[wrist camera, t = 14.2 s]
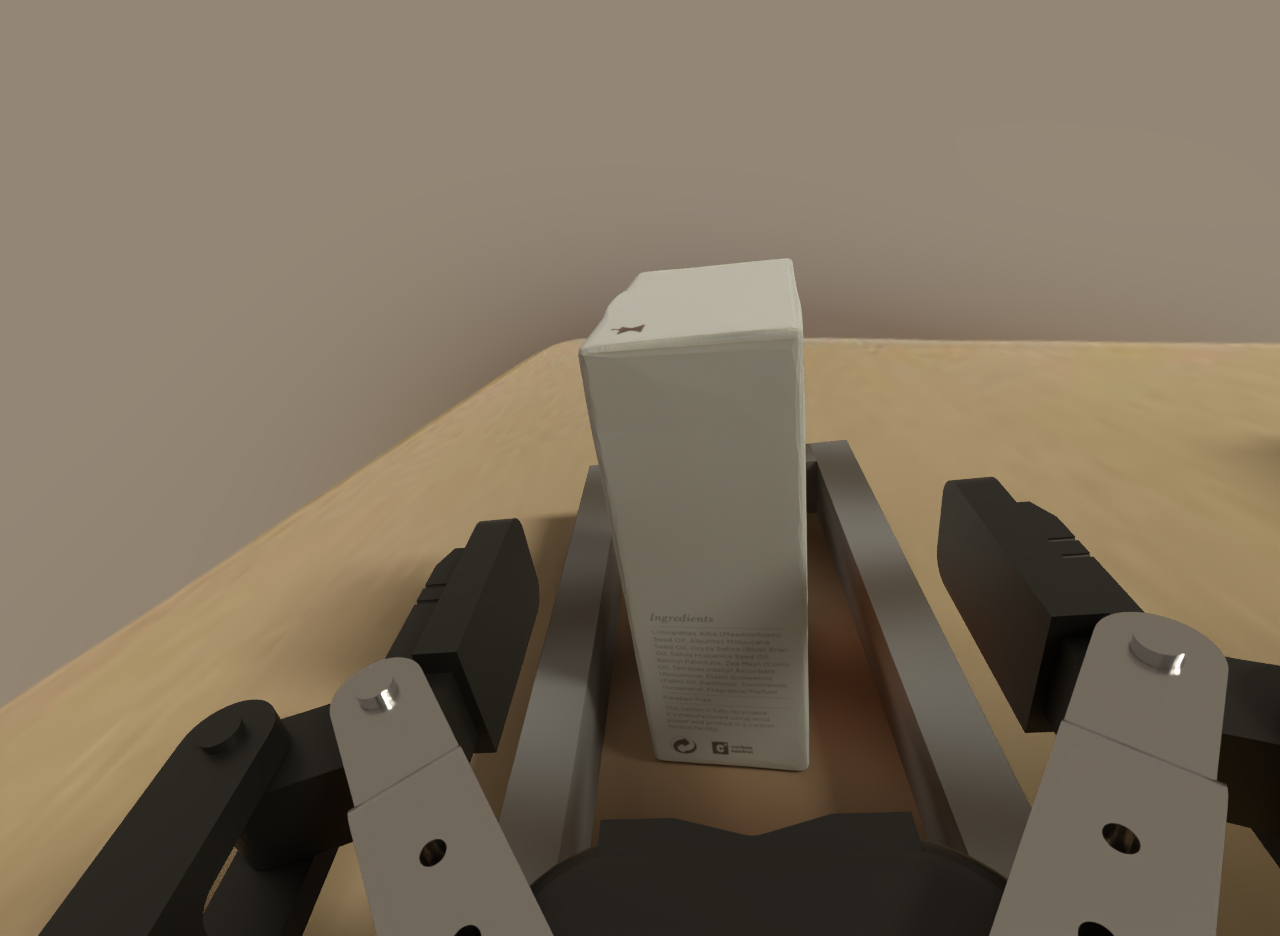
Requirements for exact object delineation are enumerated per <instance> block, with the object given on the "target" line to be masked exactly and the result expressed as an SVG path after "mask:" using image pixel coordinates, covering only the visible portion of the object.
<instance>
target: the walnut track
mask: <svg viewBox="0 0 1280 936" xmlns="http://www.w3.org/2000/svg"><path fill="white" fill-rule="evenodd" d="M805 452H806V520H807V589H808V698H809V766H808V768H807V769H806V770H803V771H795V770H782V769H771V768H760V767H749V766H732V765H720V764H702V763H689V762H676V761H666V760H660V759H658V758H656V757H655V754H654V749H653V743H652V738H651V733H650V728H649V722H648V718H647V712H646V707H645V702H644V697H643V693H642V687H641V681H640V676H639V671H638V666H637V661H636V656H635V650H634V645H633V639H632V633H631V628H630V623H629V618H628V612H627V607H626V602H625V597H624V592H623V587H622V582H621V576H620V571H619V566H618V560H617V555H616V551H615V547H614V542H613V536H612V531H611V526H610V521H609V515H608V510H607V504H606V499H605V494H604V489H603V484H602V478H601V473H600V468H599V465H594V466H590V467H589V471H588V475H587V479H586V482H585V486H584V490H583V494H582V498H581V502H580V506H579V510H578V514H577V517H576V521H575V525H574V529H573V533H572V537H571V541H570V545H569V549H568V553H567V556H566V560H565V564H564V568H563V572H562V576H561V580H560V584H559V588H558V591H557V595H556V599H555V603H554V607H553V611H552V615H551V619H550V623H549V627H548V630H547V634H546V638H545V642H544V646H543V650H542V654H541V658H540V662H539V665H538V669H537V673H536V677H535V681H534V685H533V689H532V693H531V697H530V701H529V704H528V708H527V712H526V716H525V720H524V724H523V728H522V732H521V736H520V739H519V743H518V747H517V751H516V755H515V759H514V763H513V767H512V771H511V775H510V778H509V782H508V786H507V790H506V794H505V798H504V802H503V806H502V810H501V813H500V817H499V821H498V823H499V825H500V827H501V829H502V831H503V833H504V836H505V838H506V840H507V842H508V844H509V846H510V848H511V850H512V852H513V854H514V856H515V858H516V860H517V862H518V864H519V866H520V868H521V870H522V872H523V874H524V876H525V878H526V880H527V882H528V885H529V886H530V885H531V884H532V883H533V882H534V881H535V880H537V879H538V878H539V877H540V876H541V875H543V874H544V873H545V872H547V871H548V870H549V869H551V868H552V867H553V866H555V865H556V864H558V863H560V862H561V861H563V860H565V859H566V858H568V857H570V856H572V855H574V854H576V853H579V852H581V851H583V850H585V849H588V848H591V847H594V846H597V845H598V839H599V831H600V822H601V820H612V819H650V818H676V819H680V820H685V821H689V822H693V823H697V824H702V825H706V826H710V827H714V828H718V829H723V830H727V831H731V832H735V833H739V834H744V835H750V836H754V835H761V834H764V833H768V832H771V831H775V830H778V829H781V828H785V827H788V826H791V825H795V824H798V823H802V822H805V821H808V820H812V819H815V818H818V817H822V816H825V815H829V814H837V813H875V812H912V815H913V818H914V821H915V825H916V828H917V831H918V834H919V837H920V838H921V839H925V840H929V841H933V842H936V843H939V844H942V845H944V846H947V847H950V848H953V849H955V850H958V851H960V852H962V853H964V854H966V855H968V856H971V857H973V858H975V859H977V860H978V861H980V862H982V863H983V864H985V865H987V866H989V867H990V868H992V869H994V870H995V871H997V872H998V873H1000V874H1001V875H1003V876H1004V877H1005V878H1007V879H1008V878H1009V875H1010V872H1011V869H1012V866H1013V863H1014V860H1015V857H1016V854H1017V851H1018V848H1019V845H1020V842H1021V839H1022V836H1023V833H1024V830H1025V827H1026V824H1027V821H1028V818H1029V815H1030V812H1031V810H1032V809H1031V807H1030V805H1029V803H1028V801H1027V799H1026V797H1025V795H1024V793H1023V791H1022V789H1021V787H1020V785H1019V783H1018V781H1017V779H1016V777H1015V775H1014V773H1013V771H1012V769H1011V767H1010V765H1009V763H1008V761H1007V759H1006V757H1005V755H1004V753H1003V751H1002V749H1001V747H1000V745H999V743H998V741H997V739H996V737H995V735H994V733H993V731H992V729H991V727H990V725H989V723H988V721H987V719H986V717H985V715H984V713H983V711H982V709H981V707H980V705H979V703H978V701H977V699H976V697H975V695H974V693H973V691H972V689H971V687H970V685H969V683H968V681H967V679H966V677H965V675H964V673H963V671H962V669H961V667H960V665H959V663H958V661H957V659H956V657H955V655H954V653H953V651H952V649H951V647H950V645H949V643H948V641H947V639H946V637H945V635H944V633H943V631H942V629H941V627H940V625H939V623H938V621H937V619H936V617H935V615H934V613H933V611H932V609H931V607H930V605H929V603H928V602H927V600H926V598H925V596H924V594H923V592H922V590H921V588H920V586H919V584H918V582H917V580H916V578H915V576H914V574H913V572H912V570H911V568H910V566H909V564H908V562H907V560H906V558H905V556H904V554H903V552H902V550H901V548H900V546H899V544H898V542H897V540H896V538H895V536H894V534H893V532H892V530H891V528H890V526H889V524H888V522H887V520H886V518H885V516H884V514H883V512H882V510H881V508H880V506H879V504H878V502H877V500H876V498H875V496H874V494H873V492H872V490H871V488H870V486H869V484H868V482H867V480H866V478H865V476H864V474H863V472H862V470H861V468H860V466H859V464H858V462H857V460H856V458H855V456H854V454H853V452H852V450H851V448H850V446H849V444H848V442H847V440H840V441H831V442H821V443H811V444H805Z"/></svg>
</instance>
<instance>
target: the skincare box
mask: <svg viewBox="0 0 1280 936" xmlns="http://www.w3.org/2000/svg"><path fill="white" fill-rule="evenodd" d="M578 357H579V362H580V368H581V374H582V379H583V385H584V392H585V398H586V403H587V409H588V414H589V419H590V425H591V430H592V435H593V440H594V445H595V449H596V454H597V459H598V463H599V468H600V473H601V478H602V484H603V489H604V494H605V499H606V504H607V510H608V515H609V521H610V526H611V531H612V536H613V542H614V547H615V551H616V555H617V560H618V566H619V571H620V576H621V582H622V587H623V592H624V597H625V602H626V607H627V612H628V618H629V623H630V628H631V633H632V639H633V645H634V650H635V656H636V661H637V666H638V671H639V676H640V681H641V687H642V693H643V697H644V702H645V707H646V712H647V718H648V722H649V728H650V733H651V738H652V743H653V749H654V754H655V757H656V758H658V759H660V760H666V761H676V762H689V763H702V764H720V765H732V766H749V767H760V768H771V769H782V770H795V771H803V770H806V769H807V768H808V766H809V698H808V589H807V520H806V452H805V396H804V353H803V325H802V311H801V304H800V300H799V296H798V292H797V288H796V282H795V276H794V270H793V263H792V260H791V259H789V258H786V259H775V260H764V261H754V262H744V263H734V264H725V265H717V266H716V265H715V266H706V267H698V268H697V267H696V268H686V269H674V270H662V271H650V272H643V273H640V274H638V275H637V277H636V278H635V279H634V281H633V282H632V283H631V284H630V285H629V287H628V288H627V289H626V290H625V292H623V293H621V294H619V295H618V296H616V297H615V298H614V300H613V301H612V302H611V303H610V305H609V306H608V307H607V309H606V312H605V315H604V317H603V319H602V320H601V321H600V323H599V324H598V325H597V327H596V328H595V330H594V331H593V332H592V334H591V335H590V336H589V337H588V338H587V340H586V341H585V342H584V344H583V345H582V346H581V347H580V348H579V354H578Z"/></svg>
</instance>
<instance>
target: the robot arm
mask: <svg viewBox="0 0 1280 936" xmlns="http://www.w3.org/2000/svg"><path fill="white" fill-rule="evenodd" d="M1089 553H1090V552H1089V551H1088V550H1087V549H1086V548H1085V547H1084V546H1083V545H1082V544H1081V543H1080V542H1079V540H1075V536H1074V535H1073V534H1072V533H1071V532H1070V531H1069V530H1068V528H1067V527H1066V526H1065V525H1064V524H1063V523H1062V522H1061V521H1060V520H1059V519H1058V517H1056V516H1054V515H1053V514H1051V513H1049V512H1047V511H1045V510H1044V509H1042V508H1040V507H1038V506H1036V505H1035V504H1033V503H1031V502H1016V501H1015V500H1014V499H1013V498H1012V496H1011V495H1010V494H1009V493H1008V492H1007V491H1006V489H1005V488H1004V487H1003V486H1002V485H1001V483H1000V482H999V481H998V480H997V479H996V478H994V477H984V478H973V479H962V480H951V481H948V482H946V484H945V486H944V490H943V497H942V507H941V516H940V526H939V536H938V545H937V561H938V567H939V572H940V576H941V579H942V581H943V583H944V585H945V587H946V589H947V591H948V593H949V595H950V596H951V598H952V600H953V602H954V604H955V606H956V607H957V609H958V611H959V613H960V615H961V617H962V618H963V620H964V622H965V624H966V626H967V627H968V629H969V631H970V633H971V635H972V637H973V638H974V640H975V642H976V644H977V646H978V648H979V649H980V651H981V653H982V655H983V657H984V659H985V660H986V662H987V664H988V666H989V668H990V670H991V671H992V673H993V675H994V677H995V679H996V681H997V682H998V684H999V686H1000V688H1001V690H1002V691H1003V693H1004V695H1005V697H1006V699H1007V701H1008V702H1009V704H1010V706H1011V708H1012V710H1013V712H1014V713H1015V715H1016V717H1017V719H1018V721H1019V723H1020V724H1021V726H1022V728H1023V730H1024V732H1025V733H1033V732H1055V734H1056V738H1055V741H1054V744H1053V747H1052V750H1051V753H1050V756H1049V759H1048V762H1047V765H1046V768H1045V771H1044V774H1043V777H1042V780H1041V783H1040V786H1039V789H1038V792H1037V795H1036V798H1035V801H1034V804H1033V807H1032V810H1031V812H1030V815H1029V818H1028V821H1027V824H1026V827H1025V830H1024V833H1023V836H1022V839H1021V842H1020V845H1019V848H1018V851H1017V854H1016V857H1015V860H1014V863H1013V866H1012V869H1011V872H1010V875H1009V878H1008V879H1007V878H1005V877H1004V876H1003V875H1001V874H1000V873H998V872H997V871H995V870H994V869H992V868H990V867H989V866H987V865H985V864H983V863H982V862H980V861H978V860H977V859H975V858H973V857H971V856H968V855H966V854H964V853H962V852H960V851H958V850H955V849H953V848H950V847H947V846H944V845H942V844H939V843H936V842H933V841H929V840H925V839H921V838H920V837H919V834H918V831H917V828H916V825H915V821H914V818H913V815H912V812H875V813H837V814H829V815H825V816H822V817H818V818H815V819H812V820H808V821H805V822H802V823H798V824H795V825H791V826H788V827H785V828H781V829H778V830H775V831H771V832H768V833H764V834H761V835H754V836H750V835H744V834H739V833H735V832H731V831H727V830H723V829H718V828H714V827H710V826H706V825H702V824H697V823H693V822H689V821H685V820H680V819H676V818H650V819H612V820H601V822H600V831H599V839H598V845H597V846H594V847H591V848H588V849H585V850H583V851H581V852H579V853H576V854H574V855H572V856H570V857H568V858H566V859H565V860H563V861H561V862H560V863H558V864H556V865H555V866H553V867H552V868H551V869H549V870H548V871H547V872H545V873H544V874H543V875H541V876H540V877H539V878H538V879H537V880H535V881H534V882H533V883H532V884H531V885H530V886H529V885H528V882H527V880H526V878H525V876H524V874H523V872H522V870H521V868H520V866H519V864H518V862H517V860H516V858H515V856H514V854H513V852H512V850H511V848H510V846H509V844H508V842H507V840H506V838H505V836H504V833H503V831H502V829H501V827H500V825H499V823H498V821H497V819H496V817H495V815H494V813H493V811H492V809H491V807H490V805H489V803H488V801H487V799H486V797H485V795H484V793H483V791H482V789H481V787H480V784H479V782H478V780H477V778H476V776H475V774H474V772H473V770H472V768H471V766H470V761H471V758H472V755H473V753H494V752H497V748H498V745H499V741H500V738H501V735H502V731H503V728H504V724H505V721H506V717H507V714H508V711H509V707H510V704H511V700H512V697H513V694H514V690H515V687H516V683H517V680H518V677H519V673H520V670H521V666H522V663H523V660H524V656H525V653H526V649H527V646H528V643H529V639H530V636H531V632H532V629H533V625H534V622H535V619H536V615H537V612H538V607H539V585H538V580H537V576H536V572H535V569H534V565H533V562H532V558H531V555H530V551H529V548H528V544H527V541H526V537H525V534H524V530H523V527H522V525H521V523H520V521H519V520H518V519H517V518H513V519H502V520H491V521H480V522H479V523H478V524H477V525H476V527H475V529H474V531H473V533H472V535H471V537H470V539H469V541H468V543H467V545H466V547H465V548H456V549H454V550H453V551H452V552H451V553H449V554H448V555H447V556H446V557H445V558H444V559H443V560H442V561H441V562H440V563H439V564H437V565H436V567H435V568H434V570H433V572H432V574H431V576H430V578H429V579H428V581H427V583H426V589H423V590H422V592H421V594H420V596H419V598H418V600H417V605H414V607H413V609H412V610H411V612H410V614H409V616H408V618H407V620H406V621H405V623H404V625H403V627H402V629H401V631H400V632H399V634H398V636H397V638H396V640H395V642H394V643H393V645H392V647H391V649H390V651H389V653H388V654H387V656H386V658H385V659H383V660H380V661H377V662H374V663H372V664H370V665H368V666H366V667H364V668H362V669H360V670H359V671H357V672H356V673H355V674H353V675H352V676H351V677H350V678H348V679H347V680H346V681H345V682H344V683H343V684H342V685H341V687H340V688H339V689H338V691H337V692H336V694H335V695H334V697H333V699H332V702H331V704H328V705H325V706H322V707H319V708H315V709H312V710H309V711H306V712H303V713H299V714H296V715H293V716H290V717H287V718H284V719H280V717H279V716H278V714H277V713H276V711H275V709H274V708H273V706H272V705H271V704H270V703H268V702H266V701H263V700H246V701H241V702H238V703H235V704H232V705H230V706H227V707H225V708H223V709H221V710H219V711H217V712H215V713H214V714H212V715H210V716H209V717H207V718H206V719H204V720H203V721H202V722H200V723H199V724H198V725H197V726H196V727H194V728H193V729H192V730H191V731H190V732H189V733H188V734H187V735H186V736H185V738H184V739H183V740H182V741H181V743H180V744H179V745H178V747H177V748H176V749H175V751H174V752H173V753H172V755H171V756H170V757H169V759H168V760H167V762H166V763H165V764H164V766H163V767H162V768H161V770H160V771H159V772H158V774H157V775H156V776H155V778H154V779H153V781H152V782H151V783H150V785H149V786H148V787H147V789H146V790H145V791H144V793H143V794H142V795H141V797H140V798H139V800H138V801H137V802H136V804H135V805H134V806H133V808H132V809H131V810H130V812H129V813H128V814H127V816H126V817H125V819H124V820H123V821H122V823H121V824H120V825H119V827H118V828H117V829H116V831H115V832H114V833H113V835H112V836H111V838H110V839H109V840H108V842H107V843H106V844H105V846H104V847H103V848H102V850H101V851H100V852H99V854H98V855H97V857H96V858H95V859H94V861H93V862H92V863H91V865H90V866H89V867H88V869H87V870H86V871H85V873H84V874H83V876H82V877H81V878H80V880H79V881H78V882H77V884H76V885H75V886H74V888H73V889H72V890H71V892H70V893H69V895H68V896H67V897H66V899H65V900H64V901H63V903H62V904H61V905H60V907H59V908H58V909H57V911H56V912H55V914H54V915H53V916H52V918H51V919H50V920H49V922H48V923H47V924H46V926H45V927H44V928H43V930H42V931H41V932H40V934H39V935H38V936H302V935H303V932H304V930H305V928H306V925H307V923H308V920H309V918H310V915H311V913H312V911H313V908H314V906H315V903H316V901H317V899H318V896H319V894H320V891H321V889H322V887H323V884H324V882H325V879H326V877H327V874H328V872H329V870H330V867H331V865H332V862H333V860H334V858H335V855H336V853H337V850H338V848H339V847H340V846H343V845H345V844H348V843H351V842H354V846H355V850H356V854H357V858H358V862H359V866H360V870H361V874H362V878H363V882H364V886H365V890H366V894H367V898H368V902H369V906H370V910H371V914H372V918H373V922H374V926H375V930H376V934H377V936H1216V928H1217V917H1218V906H1219V895H1220V884H1221V873H1222V863H1223V852H1224V841H1225V830H1226V822H1228V823H1232V824H1236V825H1240V826H1245V827H1249V828H1251V829H1252V830H1253V832H1254V833H1255V834H1256V836H1257V837H1258V839H1259V840H1260V841H1261V843H1262V844H1263V845H1264V847H1265V848H1266V850H1267V851H1268V852H1269V854H1270V855H1271V857H1272V858H1273V859H1274V861H1275V862H1276V864H1277V865H1278V866H1279V868H1280V666H1278V665H1272V664H1265V663H1259V662H1253V661H1246V660H1240V659H1235V658H1230V657H1225V656H1224V655H1223V653H1222V652H1221V650H1220V649H1219V648H1218V647H1217V646H1216V645H1215V644H1214V643H1213V642H1212V641H1211V640H1209V639H1208V638H1207V637H1206V636H1204V635H1203V634H1201V633H1200V632H1198V631H1196V630H1194V629H1193V628H1191V627H1189V626H1187V625H1185V624H1182V623H1180V622H1178V621H1175V620H1172V619H1169V618H1166V617H1163V616H1159V615H1155V614H1149V613H1144V611H1143V610H1142V609H1141V608H1140V607H1139V606H1138V605H1137V604H1136V603H1135V602H1134V600H1133V599H1132V598H1131V597H1130V596H1129V595H1128V594H1127V593H1126V592H1125V591H1124V590H1123V588H1122V587H1121V586H1120V585H1119V584H1118V583H1117V582H1116V581H1115V580H1114V579H1113V578H1112V576H1111V575H1110V574H1109V573H1108V572H1107V571H1106V570H1105V569H1104V568H1103V567H1102V566H1101V564H1100V563H1099V562H1098V561H1097V560H1096V559H1095V558H1094V557H1090V554H1089ZM234 846H235V848H236V849H237V850H238V852H237V854H236V855H235V857H234V859H233V861H232V863H231V864H230V866H229V868H228V870H227V872H226V874H225V875H224V877H223V879H222V881H221V883H220V884H219V886H218V888H217V890H216V892H215V894H214V895H213V897H212V899H211V901H210V903H209V904H208V906H207V908H206V910H205V912H204V914H203V911H204V905H205V902H206V898H207V896H208V893H209V891H210V889H211V887H212V885H213V883H214V881H215V880H216V878H217V876H218V874H219V872H220V871H221V869H222V867H223V865H224V864H225V862H226V860H227V858H228V856H229V855H230V853H231V851H232V849H233V847H234Z"/></svg>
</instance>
